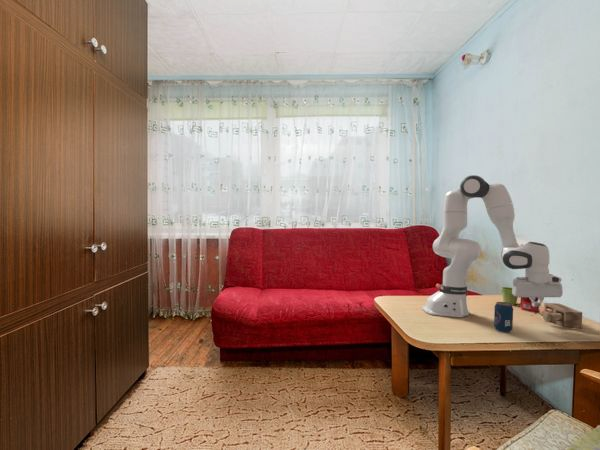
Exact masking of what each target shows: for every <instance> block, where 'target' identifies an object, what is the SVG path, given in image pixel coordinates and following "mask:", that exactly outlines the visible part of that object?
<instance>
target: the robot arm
mask: <svg viewBox="0 0 600 450" xmlns="http://www.w3.org/2000/svg"><path fill="white" fill-rule="evenodd" d="M473 198H474V199H475V198H479V199H482V201H483V203H484V205H485V209H486V210H485V211H486V213H487V215H488V217H489V220H490V221H491V223H492V224H493V226H494V227H495V228H496V230H497V231H498V234H499V237H500V241H501V245H502V249H501V255H500V257H501V260H502V262H503V264H504V266H505V267H507V268H508V269H511V270H523V269H524V270H525V273H524V274H525V276H521V277H520V276H519V277H518V276H517V277H515V278H514V279H513V280H512V287H511V288H512V294H513V295H514V296H516V297H518V298H521V297H529V298H530V300H531V302H532V306H534V307H539V308H541V306H542V303H543V301H544V300H545V298H561V297H562V296H563V285H562V283H561V282H562V277H559V276H557V275H554V274H551V273H550V269H549V264H550V248H549V247H548V246H547V245H545V244H544V243H541V242H536V241H528V242H527V243H525V244H523V245H521V246H520V245H519V244H518V242H517V237H516V234H515V231H514V221H515V216H516V215H515V207H514V204H513V201H512V198H511V195H510V193H509V191H508V188H507V187H506V186H505V185H504V184H502V183H493V184H492V183H491V184H490V183H488V182H487V181H485V179H484V178H483V177H482V176H479V175H467V176H465V177H464V178H463V179H462V180H461V182H460V184H459V188H458V189H453V190H449V191H447V192H446V193H445V196H444V199H443V200H444V201H443V221H442V222H443V224H442V230H441V233H440V234H439V235H438V237H437V238H435V240H434V241H433V243H432V250H433V252H434V254H436V255H438V256H439V257H442V258H447V259H451V262H450V264H449V265H447V266H446V267H444V269H443V271H442V283H441V284H440V283H436V285H435V287H436V288H437V289H438V291H436V292H435V293H433V294H431V295H430V296H428V298H427V300H426V304H423V305H422V307H421V310H422V311H424V312H425V313H426V314H429V315H430V316H431V315H433V316H441V317H453V318H461V319H462V318H464V317H465V316H469V314H470V313H469V309H468V301H467V296H468V286H467V276H468V272H469V269H470V266H471V265H472V263H473V262H474V261H476V260H478V259H479V257H480V256H481V254H482V247H481V244H480V243H478V242H477V241H474V240H472V239H469V238H460V237H459V236H460V233H461V232H462V231H463V230H465V229H466V228H467V226H468V202H469V200H471V199H473ZM535 297H538V298H539V299H538V301H537V302H535Z"/></svg>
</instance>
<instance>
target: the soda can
mask: <svg viewBox="0 0 600 450" xmlns="http://www.w3.org/2000/svg"><path fill="white" fill-rule="evenodd" d="M493 314H494V315H493V318H494V319H493V326H494V329H495V330H496V331H498V332H501V333H511V332H512V331H513V327H514V323H513V321H514V308H513V306H512V304H510V303H506V302H503V301H496V303H495V305H494V313H493Z"/></svg>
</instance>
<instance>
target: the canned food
mask: <svg viewBox="0 0 600 450" xmlns="http://www.w3.org/2000/svg"><path fill="white" fill-rule="evenodd" d="M538 299H539V298H538V297H535V302H537V301H538ZM519 305H520V309H521V310H522V311H525V312H529V313H537V312H539V311H540V307H534V306H532V302H531V300H530V298H529V297H520V304H519Z"/></svg>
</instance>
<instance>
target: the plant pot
mask: <svg viewBox="0 0 600 450" xmlns="http://www.w3.org/2000/svg"><path fill="white" fill-rule="evenodd" d="M512 288H513V287H509V286H500V289H501V293H502V300H503V301H502V302H506V303H510V304H512V305H513V306H515V305H517V302H518V298H519V297H516V296H514V295H513V294H512Z"/></svg>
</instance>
